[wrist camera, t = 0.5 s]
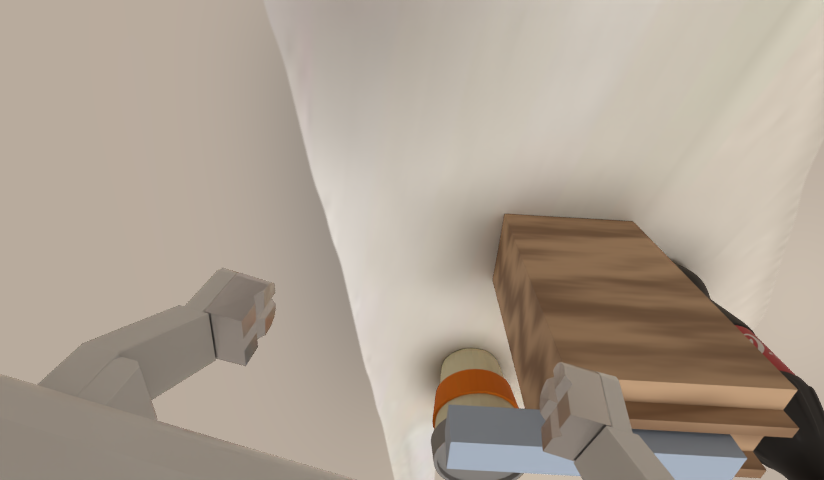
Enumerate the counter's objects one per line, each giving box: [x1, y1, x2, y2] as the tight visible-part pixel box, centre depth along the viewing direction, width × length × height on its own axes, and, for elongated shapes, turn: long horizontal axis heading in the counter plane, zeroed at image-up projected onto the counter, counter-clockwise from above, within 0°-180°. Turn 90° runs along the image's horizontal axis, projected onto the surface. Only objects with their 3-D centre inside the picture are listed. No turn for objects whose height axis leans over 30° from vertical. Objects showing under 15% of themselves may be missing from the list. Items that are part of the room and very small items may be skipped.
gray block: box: [445, 404, 747, 480], centre depth 30 cm, size 3×20×3 cm, turn 87°
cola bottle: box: [675, 264, 824, 480], centre depth 43 cm, size 8×8×30 cm
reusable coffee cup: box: [431, 348, 524, 480], centre depth 58 cm, size 13×13×15 cm
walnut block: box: [493, 214, 800, 478], centre depth 42 cm, size 10×16×28 cm, turn 87°
